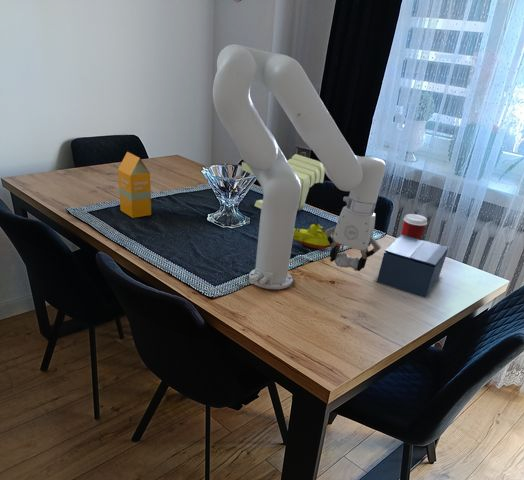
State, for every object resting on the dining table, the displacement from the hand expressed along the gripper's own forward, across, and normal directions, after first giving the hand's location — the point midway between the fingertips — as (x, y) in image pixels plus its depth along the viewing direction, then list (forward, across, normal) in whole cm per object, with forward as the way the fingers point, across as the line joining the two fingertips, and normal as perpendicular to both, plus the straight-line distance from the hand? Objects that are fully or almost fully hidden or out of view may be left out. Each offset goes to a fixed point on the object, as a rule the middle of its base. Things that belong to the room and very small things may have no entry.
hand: (346, 264), depth 144 cm
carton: (+5, +16, +16) cm, 23 cm away
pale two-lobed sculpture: (+1, 0, 0) cm, 1 cm away
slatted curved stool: (+6, -45, +45) cm, 64 cm away
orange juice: (+8, -81, +2) cm, 81 cm away
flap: (-5, +12, +15) cm, 20 cm away
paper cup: (+5, +10, +33) cm, 34 cm away
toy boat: (+6, -17, +19) cm, 26 cm away
